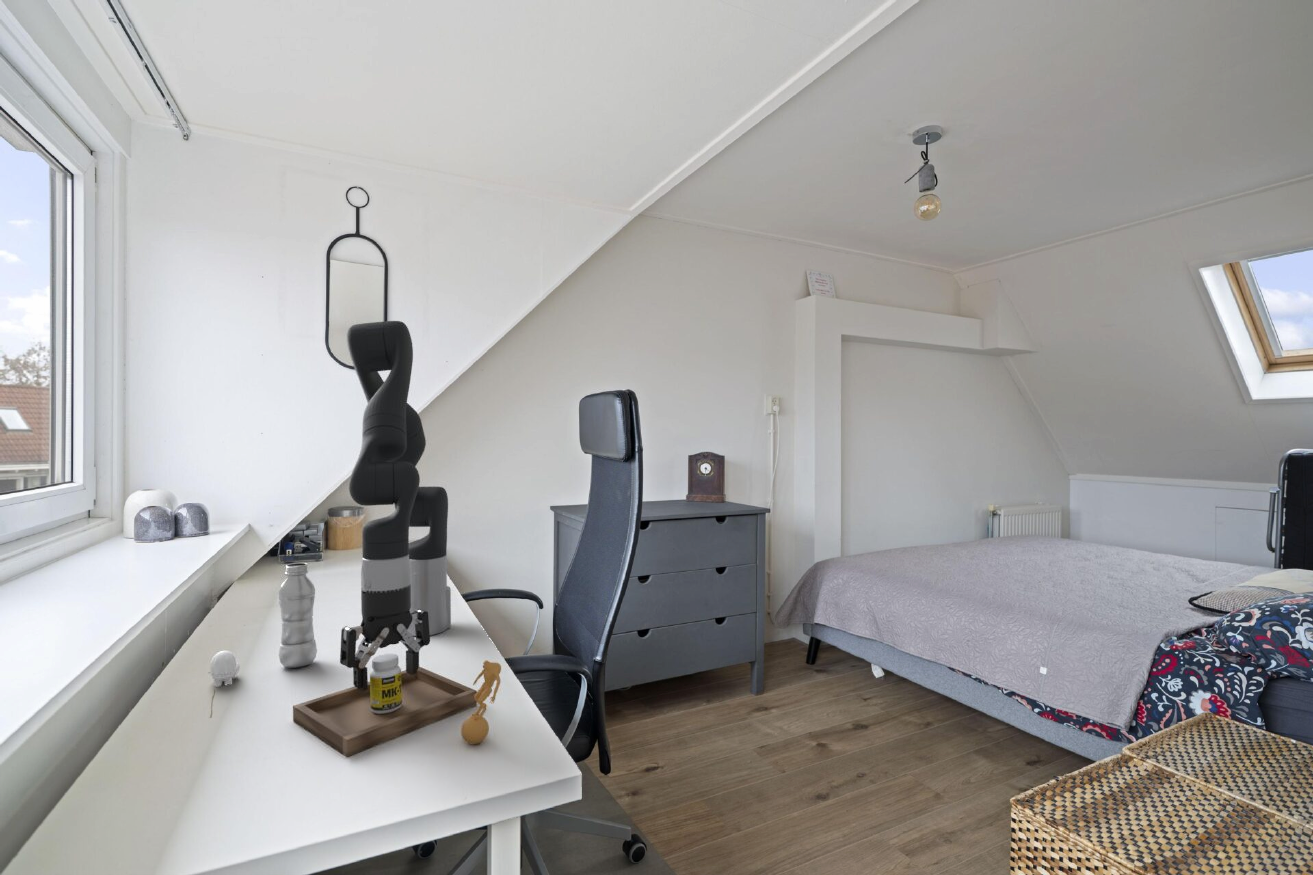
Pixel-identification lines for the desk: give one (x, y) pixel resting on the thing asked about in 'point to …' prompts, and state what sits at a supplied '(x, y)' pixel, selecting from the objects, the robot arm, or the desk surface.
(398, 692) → the supplement bottle
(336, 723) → the walnut tray
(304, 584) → the plastic bottle
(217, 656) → the toy creature
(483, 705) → the figurine
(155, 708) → the desk surface
